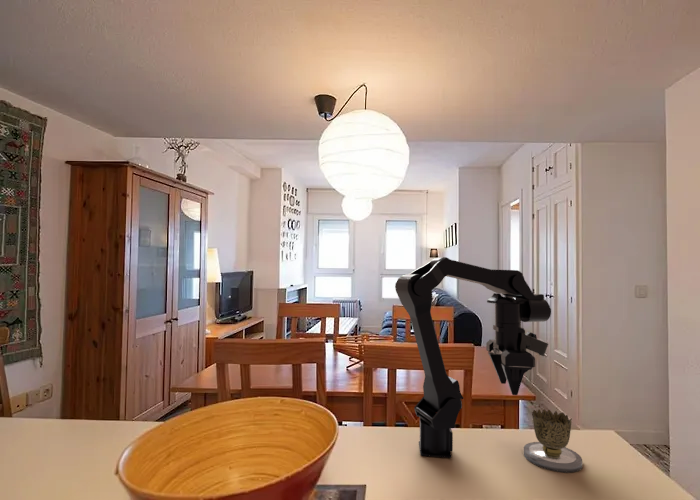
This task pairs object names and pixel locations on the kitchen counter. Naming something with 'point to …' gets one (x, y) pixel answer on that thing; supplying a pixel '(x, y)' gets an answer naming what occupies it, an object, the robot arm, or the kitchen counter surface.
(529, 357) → the robot arm
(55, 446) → the kitchen counter surface
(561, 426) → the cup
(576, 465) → the gray-rimmed plate
